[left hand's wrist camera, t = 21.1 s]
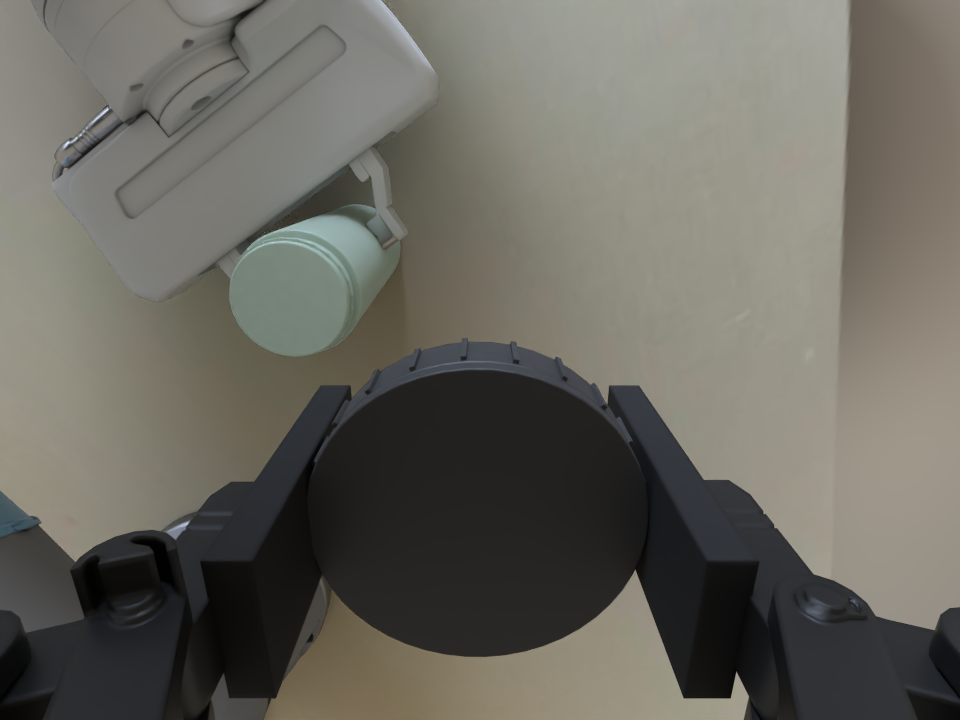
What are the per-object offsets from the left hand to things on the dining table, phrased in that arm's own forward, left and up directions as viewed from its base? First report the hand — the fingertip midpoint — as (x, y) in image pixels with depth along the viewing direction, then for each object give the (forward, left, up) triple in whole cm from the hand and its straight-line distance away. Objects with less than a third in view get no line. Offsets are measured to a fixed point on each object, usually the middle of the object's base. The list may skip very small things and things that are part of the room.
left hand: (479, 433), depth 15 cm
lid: (0, 0, +4) cm, 4 cm away
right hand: (+3, +7, -19) cm, 20 cm away
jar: (+4, +7, -25) cm, 26 cm away
